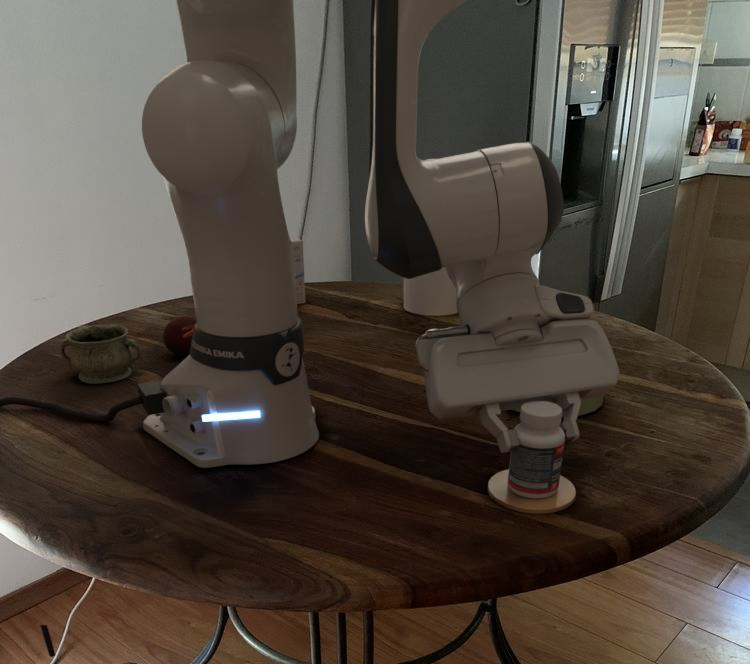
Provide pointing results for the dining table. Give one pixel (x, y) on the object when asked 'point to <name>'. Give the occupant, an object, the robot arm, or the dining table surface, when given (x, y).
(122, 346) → the vessel
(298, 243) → the ink box
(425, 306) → the bottle
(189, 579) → the dining table surface
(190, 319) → the red tomato
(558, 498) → the coaster
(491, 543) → the dining table surface
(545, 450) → the pill bottle
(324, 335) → the dining table surface
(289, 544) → the dining table surface
